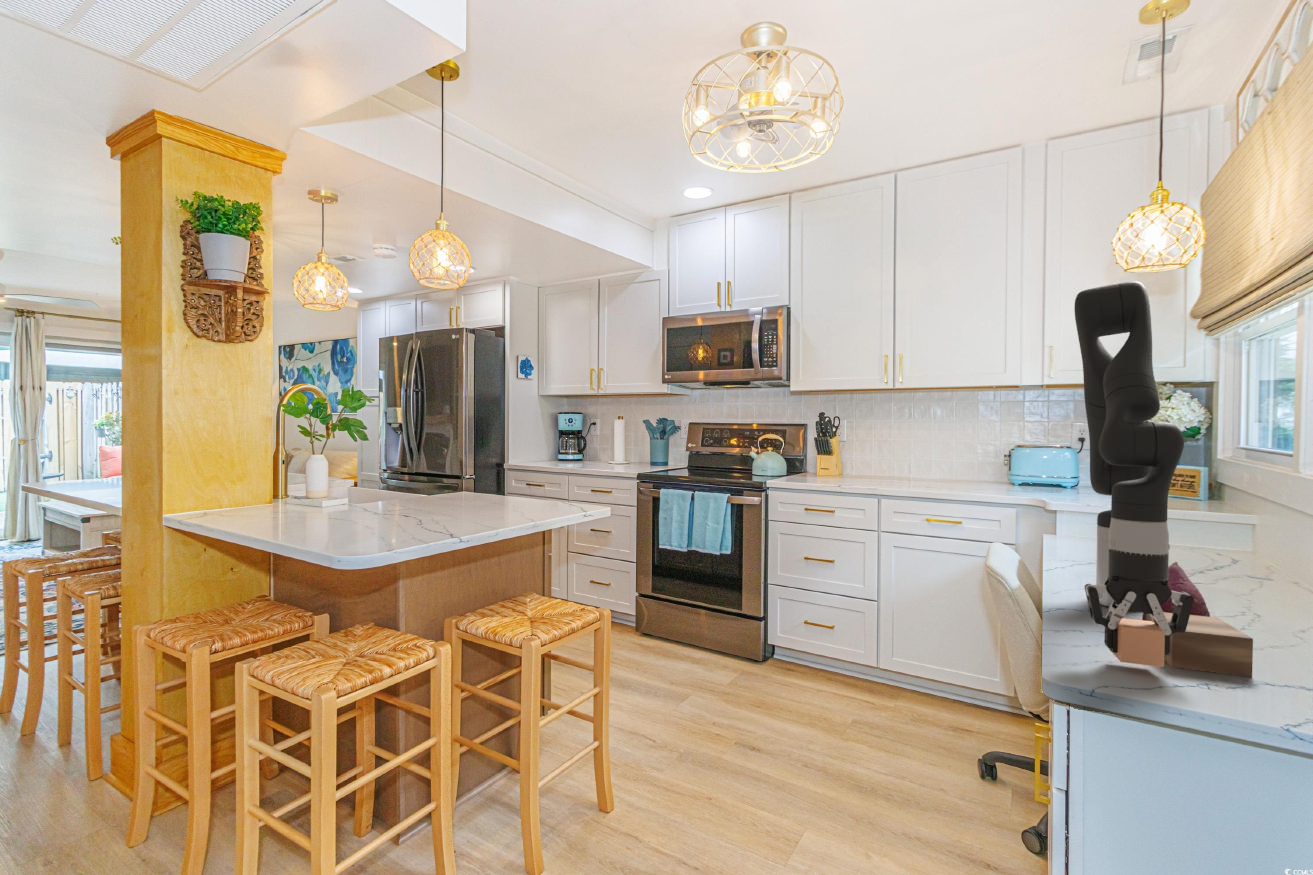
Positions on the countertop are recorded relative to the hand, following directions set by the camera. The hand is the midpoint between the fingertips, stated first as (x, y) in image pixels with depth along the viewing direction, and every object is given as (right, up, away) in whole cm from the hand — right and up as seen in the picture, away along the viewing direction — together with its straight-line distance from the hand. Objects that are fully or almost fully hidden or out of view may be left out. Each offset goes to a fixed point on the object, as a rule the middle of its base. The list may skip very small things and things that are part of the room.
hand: (1136, 653), depth 98 cm
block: (0, -1, 0) cm, 1 cm away
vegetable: (+21, -3, +17) cm, 27 cm away
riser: (+14, -3, +5) cm, 15 cm away
